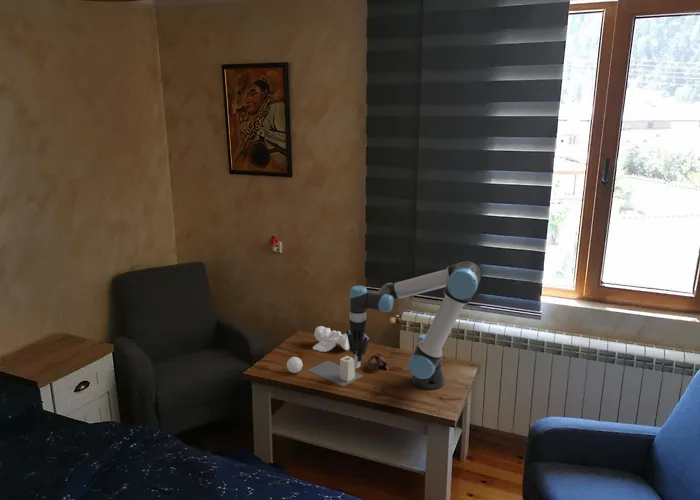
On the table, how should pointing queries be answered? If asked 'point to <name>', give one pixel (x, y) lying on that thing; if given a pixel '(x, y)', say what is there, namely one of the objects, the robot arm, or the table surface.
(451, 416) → the table surface
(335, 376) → the grey mat
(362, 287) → the robot arm
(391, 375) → the table surface
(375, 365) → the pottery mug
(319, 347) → the cherub figurine
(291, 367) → the geometric ball
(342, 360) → the cream block
